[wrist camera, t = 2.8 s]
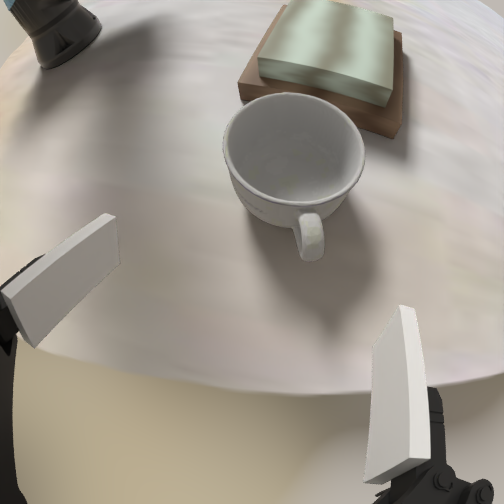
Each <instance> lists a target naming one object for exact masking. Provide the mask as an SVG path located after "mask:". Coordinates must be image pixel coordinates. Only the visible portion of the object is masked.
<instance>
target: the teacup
mask: <svg viewBox="0 0 504 504" xmlns="http://www.w3.org/2000/svg"><path fill="white" fill-rule="evenodd" d="M223 153H224V158H225V161H226V164H227V166H228V169H229V173H230V177H231V181H232V184H233V186H234V189H235V191H236V194H237V196H238V197H239V199H240V201H241V202H242V203H243V205H244V206H245V207H246V208H247V209H248V210H249V211H250V212H251V213H252V214H253V215H255V216H256V217H257V218H259V219H261V220H262V221H264V222H267V223H269V224H272V225H275V226H279V227H285V228H292V230H293V232H294V235H295V239H296V243H297V248H298V251H299V255H300V257H301V259H302V260H303V261H307V262H312V261H316V260H319V259H320V258H322V256H323V254H324V248H325V242H324V231H323V226H322V222H321V221H322V220H323V219H325V218H326V217H328V216H329V215H331V214H332V213H333V212H334V211H335V210H336V209H337V208H338V207H339V206H340V204H341V203H342V201H343V200H344V199H345V197H346V196H347V194H348V193H349V191H350V190H351V189H352V188H353V187H354V185H355V184H356V183H357V182H358V180H359V178H360V176H361V174H362V171H363V168H364V164H365V147H364V142H363V139H362V137H361V134H360V132H359V130H358V129H357V127H356V126H355V124H354V123H353V122H352V120H351V119H350V118H349V117H348V116H347V115H346V114H345V113H344V112H342V111H341V110H340V109H339V108H337V107H336V106H334V105H332V104H331V103H329V102H327V101H325V100H322V99H320V98H317V97H314V96H310V95H305V94H300V93H290V92H283V93H276V94H271V95H266V96H263V97H260V98H257V99H255V100H253V101H251V102H249V103H248V104H246V105H245V106H243V107H242V108H241V109H240V110H239V111H238V112H237V113H236V114H235V115H234V116H233V117H232V119H231V120H230V122H229V124H228V125H227V128H226V130H225V133H224V137H223Z"/></svg>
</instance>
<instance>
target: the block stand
mask: <svg viewBox="0 0 504 504" xmlns="http://www.w3.org/2000/svg"><path fill="white" fill-rule="evenodd" d="M238 88H239V93H240V99H241V100H247V101H253V100H255V99H257V98H260V97H263V96H266V95H271V94H276V93H283V92H290V93H300V94H305V95H310V96H314V97H317V98H320V99H322V100H325V101H327V102H329V103H331V104H332V105H334V106H336V107H337V108H339V109H340V110H341V111H342V112H344V113H345V114H346V115H347V116H348V117H349V118H350V119H351V120H352V122H353V123H354V124H355V126H356V127H358V128H362V129H365V130H368V131H371V132H374V133H377V134H380V135H383V136H385V137H388V138H391V139H394V137H395V135H396V133H397V131H398V130H399V128H400V126H401V124H402V103H403V53H402V33H400V32H397V31H395V30H393V18H392V17H389V16H386V15H382V14H379V13H376V12H373V11H369V10H366V9H362V8H358V7H354V6H350V5H346V4H342V3H338V2H333V1H328V0H291V1H290V2H289V4H288V5H283V6H282V8H281V9H280V11H279V12H278V14H277V15H276V17H275V19H274V20H273V22H272V23H271V25H270V27H269V28H268V30H267V32H266V33H265V35H264V37H263V38H262V40H261V42H260V43H259V45H258V47H257V48H256V50H255V52H254V54H253V55H252V57H251V59H250V61H249V62H248V64H247V66H246V68H245V70H244V71H243V73H242V75H241V77H240V79H239V80H238Z"/></svg>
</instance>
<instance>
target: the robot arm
mask: <svg viewBox="0 0 504 504" xmlns="http://www.w3.org/2000/svg"><path fill="white" fill-rule="evenodd" d="M4 2H5V4H6V6H7V8H8V10H9V11H10V12H11V13H12V14H13V16H14V17H15V18H16V20H17V21H18V22H19V24H20V25H21V26H22V27H23V29H24V30H25V31H26V33H27V34H28V35H29V36H30V38H31V39H32V42H33V46H34V49H35V53H36V56H37V60H38V62H39V63H40V65H41V66H42V67H43V68H44V69H50V68H53V67H56V66H58V65H60V64H62V63H64V62H65V61H67V60H69V59H70V58H72V57H73V56H75V55H76V54H77V53H79V52H80V51H81V50H82V49H84V48H85V47H86V46H87V45H88V44H89V43H90V42H91V41H92V40H93V39H94V38H95V37H96V36H97V34H98V33H99V31H100V30H101V23H100V21H99V20H98V18H97V17H96V16H95V15H93V14H92V13H91V12H90V11H88V10H87V9H86V8H84V7H83V6H81V5H80V4H79V2H78V0H4ZM119 264H120V256H119V246H118V235H117V222H116V216H113V215H110V214H106V213H104V214H102V215H101V216H99V217H98V218H96V219H95V220H93V221H92V222H90V223H89V224H87V225H86V226H84V227H83V228H81V229H80V230H78V231H77V232H76V233H74V234H73V235H71V236H70V237H68V238H67V239H66V240H64V241H63V242H61V243H60V244H59V245H57V246H56V247H55V248H53V249H52V250H51V251H49V252H48V253H47V254H44V255H42V256H39V257H37V258H35V259H34V260H32V261H31V262H30V263H28V264H27V266H26V267H23V268H22V269H21V270H20V272H19V271H18V272H17V273H16V274H15V275H13V276H12V277H11V278H10V279H9V280H7V281H6V282H5V283H4V284H3V285H1V286H0V504H27V501H26V499H25V497H24V496H23V494H22V493H21V491H20V490H19V488H18V484H17V477H16V469H15V459H14V447H13V426H12V423H13V422H12V405H13V380H14V367H15V357H16V349H17V335H16V333H17V332H18V331H20V333H21V335H22V337H23V339H24V340H25V341H26V342H27V343H28V344H30V345H31V346H32V347H33V348H36V346H37V345H38V344H39V343H40V342H41V341H42V340H43V339H44V338H45V337H46V336H47V335H48V334H49V333H50V331H51V330H52V329H53V328H54V327H55V326H56V325H57V324H58V323H59V322H60V321H61V320H62V319H63V318H64V317H65V316H66V315H67V314H68V313H69V312H70V311H71V310H72V309H73V308H74V307H75V306H76V305H77V304H78V303H79V302H80V301H81V300H82V299H83V298H84V297H85V296H86V295H87V294H88V293H89V292H90V291H91V290H92V289H93V288H94V287H96V286H97V285H98V284H99V283H100V282H101V281H102V280H103V279H104V278H105V277H106V276H107V275H108V274H109V273H110V272H112V271H113V270H114V269H115V268H116V267H117V266H118V265H119ZM442 414H443V407H442V399H441V397H440V395H439V393H438V391H437V388H432V387H427V383H426V375H425V367H424V359H423V352H422V346H421V340H420V334H419V328H418V323H417V318H416V313H415V309H414V308H411V307H407V306H404V305H400V304H399V306H398V308H397V309H396V311H395V313H394V314H393V316H392V317H391V319H390V321H389V322H388V324H387V325H386V327H385V329H384V330H383V332H382V333H381V335H380V336H379V338H378V339H377V341H376V342H375V344H374V345H373V347H372V395H371V413H370V427H369V428H370V429H369V438H368V448H367V457H366V466H365V473H364V480H363V483H370V484H384V483H386V482H388V481H390V480H391V487H390V488H388V489H386V490H384V491H381V492H379V493H378V494H376V495H375V496H376V497H378V496H380V497H379V498H378V499H377V500H376V501H375V502H374V503H373V504H492V501H493V496H494V490H493V486H492V484H491V483H490V482H489V481H488V480H486V479H481V480H478V481H476V482H474V483H469V482H466V481H464V480H461V479H458V478H456V475H455V472H454V470H453V469H452V467H450V466H449V465H447V463H446V447H445V446H446V445H445V429H444V425H443V423H444V416H443V415H442Z"/></svg>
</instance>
